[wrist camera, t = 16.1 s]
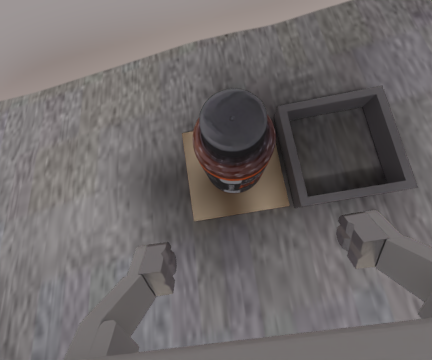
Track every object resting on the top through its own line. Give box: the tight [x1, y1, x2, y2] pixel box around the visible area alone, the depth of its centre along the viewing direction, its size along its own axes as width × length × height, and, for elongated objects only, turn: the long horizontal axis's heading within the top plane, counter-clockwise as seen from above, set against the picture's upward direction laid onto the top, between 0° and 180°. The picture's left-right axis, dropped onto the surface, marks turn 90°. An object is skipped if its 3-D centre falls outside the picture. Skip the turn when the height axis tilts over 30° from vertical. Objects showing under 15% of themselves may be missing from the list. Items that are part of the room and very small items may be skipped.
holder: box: [274, 86, 418, 208], centre depth 23 cm, size 11×11×2 cm
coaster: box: [182, 131, 290, 221], centre depth 24 cm, size 10×10×1 cm
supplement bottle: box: [193, 89, 276, 194], centre depth 18 cm, size 6×6×11 cm
